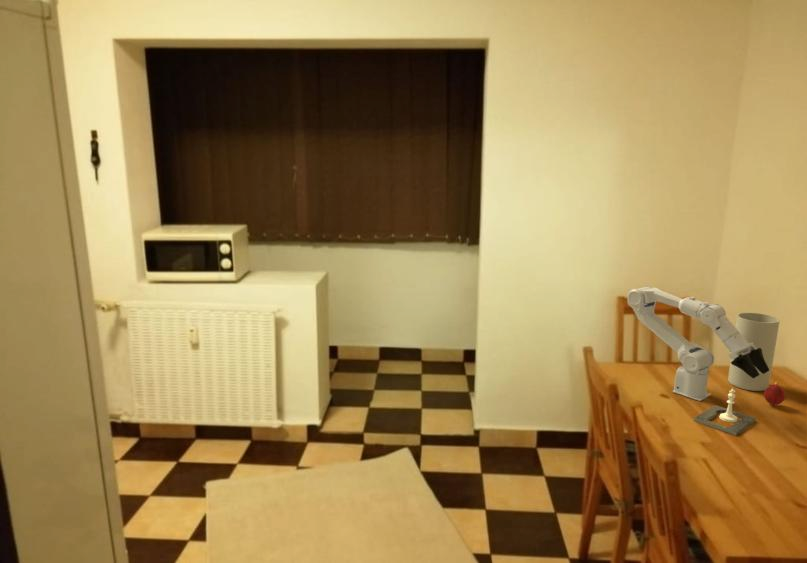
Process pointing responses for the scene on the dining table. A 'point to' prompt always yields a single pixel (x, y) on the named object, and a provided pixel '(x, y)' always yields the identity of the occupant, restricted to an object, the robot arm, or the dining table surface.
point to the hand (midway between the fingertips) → (761, 374)
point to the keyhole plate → (733, 429)
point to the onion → (774, 394)
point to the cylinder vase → (762, 336)
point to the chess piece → (729, 409)
